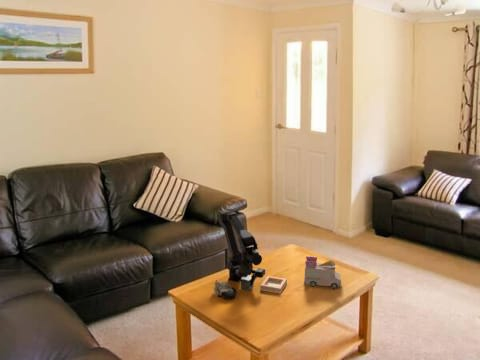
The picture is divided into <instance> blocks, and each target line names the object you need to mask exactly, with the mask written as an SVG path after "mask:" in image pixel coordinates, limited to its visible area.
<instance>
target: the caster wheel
mask: <svg viewBox="0 0 480 360" xmlns="http://www.w3.org/2000/svg"><path fill="white" fill-rule="evenodd" d="M214 282H215V284H214V287H213V291H214V293H215V296H216V297H217V298H219V296H221V297H222V298H223V299H226V300H234V299H236V298H237V296H238V295H237V294H238V291H237V289H236V288H235V287H233V286H231V284H230V283H229V282H227V281H218V279H216V280H215V281H214Z"/></svg>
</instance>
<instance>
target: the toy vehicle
mask: <svg viewBox="0 0 480 360" xmlns="http://www.w3.org/2000/svg"><path fill="white" fill-rule="evenodd" d="M305 259H306V260H305V264H304V266H305V267H304V278H303V285H309V287H311V288H315V287H317V286H324V287H331V289H332V290H336V289H338V288H341V287H342V279H341V273H338V272H337V271H335V270H336V267H335V266H336V263H335V261H334V260H332V259H329V260H328V261H325V262H323V263H319V262H318V261H317V260H318V257H316V256H305Z"/></svg>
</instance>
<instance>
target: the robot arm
mask: <svg viewBox="0 0 480 360" xmlns="http://www.w3.org/2000/svg"><path fill="white" fill-rule="evenodd" d="M216 218H217V221H218V224H219V225H220V226H221V227H222V228H223V231H224V235H225V239H226V242H227V246H228V250H229V255H228V262H227V263H226V269H227V270H228V271H229V273H228V276H229V277H228V278H227V280H228V281H233V282H241V278H242V277H247V275H251V278H252V279H251V287H252V286H253V284H255V281H256V279H257V278H260V279H261V278H263V277H264V276H265V275H266V270H265V268H261V267H258V268H257V269H254V266H258V265H259V266H260V264H261V263H262V260H263V257H262V255H261V254H260V253H259V251H257V250H259V247H258V243H257V241H256V239H255V236H253V234H252V233H251V232H250V231H247V230H246V228H245V227H244V225H243V223H242V222H241V220H240V218H239V217H238V214H237V212H235V211H231V210H224V211H220V212H218V214H217V216H216ZM234 231H235V232H236V234H237V236H238V243H239V245H240V247H238V243H237V240H236V236H235V232H234ZM239 249H241V251H240V250H239ZM253 265H254V266H253ZM253 287H254V286H253ZM253 287H252V288H253Z"/></svg>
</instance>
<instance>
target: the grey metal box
mask: <svg viewBox="0 0 480 360" xmlns="http://www.w3.org/2000/svg"><path fill="white" fill-rule="evenodd" d="M251 276H252V274H251V275H247V277H242V278H241V281H240V290H242V291H247V292H250V291H251V290H252V288H253V287H254V284H255V283H254V284H253V286H252V287H251V279H252V278H251Z"/></svg>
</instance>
